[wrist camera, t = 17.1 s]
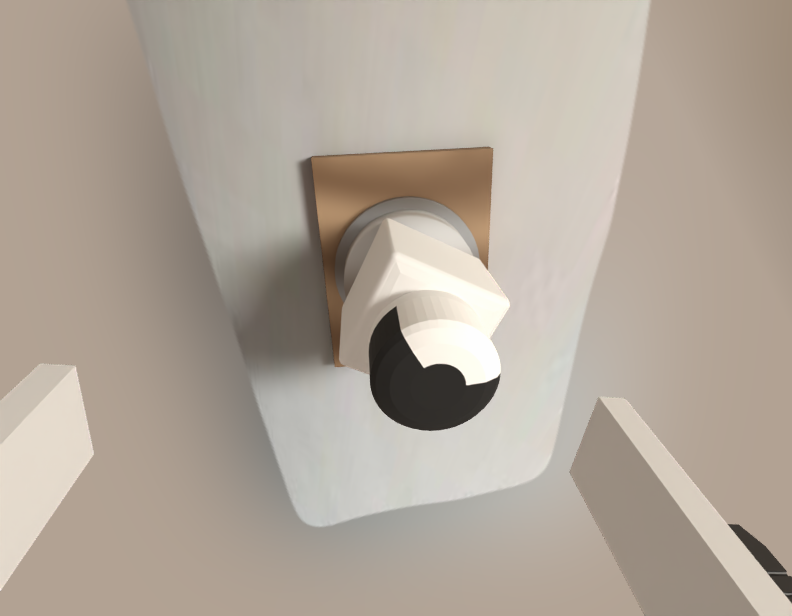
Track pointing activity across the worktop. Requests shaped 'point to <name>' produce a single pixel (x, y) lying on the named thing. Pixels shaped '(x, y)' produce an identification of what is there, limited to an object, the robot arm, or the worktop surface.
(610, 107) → the worktop surface
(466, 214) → the stub board
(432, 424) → the medicine bottle
